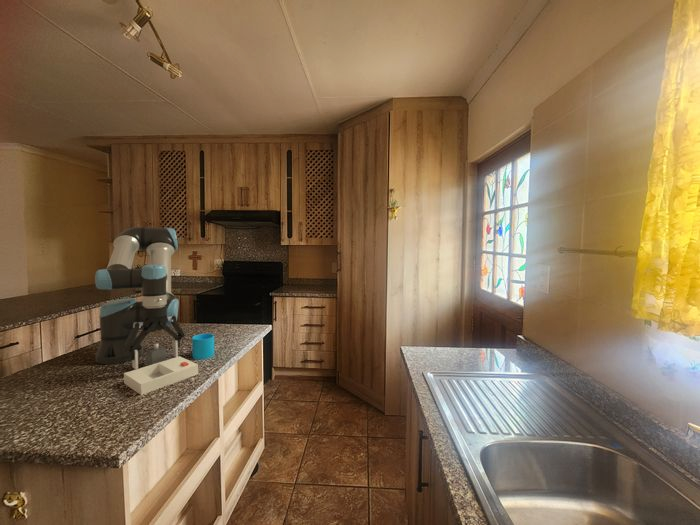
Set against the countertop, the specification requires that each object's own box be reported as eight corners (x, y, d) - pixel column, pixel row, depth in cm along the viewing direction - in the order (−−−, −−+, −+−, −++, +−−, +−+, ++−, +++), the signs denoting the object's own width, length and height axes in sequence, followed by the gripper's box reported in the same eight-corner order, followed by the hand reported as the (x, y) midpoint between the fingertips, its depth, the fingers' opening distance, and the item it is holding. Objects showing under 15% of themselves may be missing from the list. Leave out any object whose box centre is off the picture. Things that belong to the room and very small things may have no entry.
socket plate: (124, 383, 98) (123, 371, 97) (179, 365, 113) (179, 354, 112) (141, 395, 91) (141, 382, 90) (198, 374, 106) (198, 362, 105)
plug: (146, 367, 110) (145, 344, 109) (160, 363, 114) (159, 341, 113) (152, 371, 107) (151, 347, 106) (166, 366, 111) (165, 343, 110)
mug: (210, 359, 119) (210, 339, 118) (189, 359, 118) (189, 340, 117) (219, 348, 131) (219, 330, 130) (200, 348, 130) (199, 330, 129)
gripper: (118, 313, 96) (120, 376, 97) (193, 302, 117) (194, 353, 118) (109, 310, 100) (111, 370, 102) (183, 300, 121) (184, 350, 122)
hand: (156, 361), depth 110 cm, fingers open, 13 cm apart
